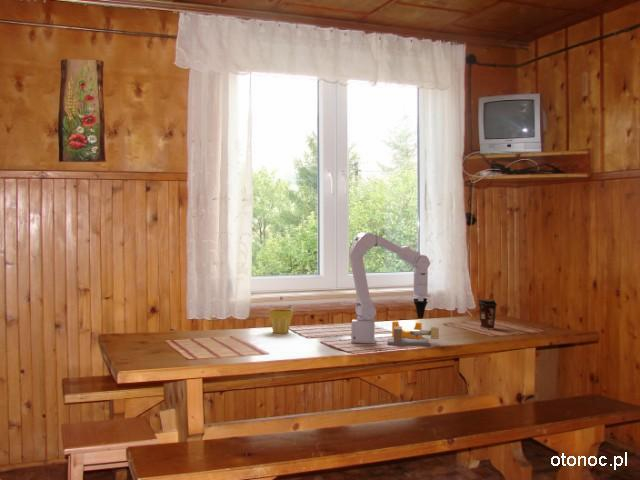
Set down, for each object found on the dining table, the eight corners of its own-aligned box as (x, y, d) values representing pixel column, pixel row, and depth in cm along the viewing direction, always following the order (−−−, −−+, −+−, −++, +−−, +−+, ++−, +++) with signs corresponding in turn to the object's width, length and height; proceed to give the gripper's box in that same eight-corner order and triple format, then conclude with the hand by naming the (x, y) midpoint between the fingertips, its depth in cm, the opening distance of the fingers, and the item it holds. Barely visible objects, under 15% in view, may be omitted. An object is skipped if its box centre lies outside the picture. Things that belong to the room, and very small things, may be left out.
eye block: (387, 344, 269) (387, 329, 269) (388, 341, 277) (388, 326, 276) (428, 345, 267) (428, 330, 267) (427, 342, 275) (428, 327, 274)
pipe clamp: (422, 337, 288) (422, 321, 288) (420, 338, 284) (420, 323, 284) (394, 335, 292) (394, 320, 292) (392, 337, 288) (392, 321, 288)
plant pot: (294, 330, 303) (294, 308, 303) (291, 334, 293) (291, 311, 292) (271, 330, 304) (271, 308, 304) (267, 333, 294) (267, 311, 294)
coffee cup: (473, 327, 315) (473, 299, 315) (488, 326, 318) (488, 298, 318) (485, 330, 307) (485, 301, 307) (500, 329, 311) (500, 300, 310)
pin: (410, 338, 270) (410, 327, 270) (410, 337, 273) (410, 326, 273) (438, 339, 269) (438, 328, 268) (438, 337, 272) (438, 326, 271)
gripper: (431, 285, 273) (430, 319, 273) (429, 282, 287) (429, 314, 287) (413, 285, 274) (413, 319, 274) (412, 282, 288) (412, 314, 288)
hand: (420, 316), depth 281 cm, fingers open, 7 cm apart
